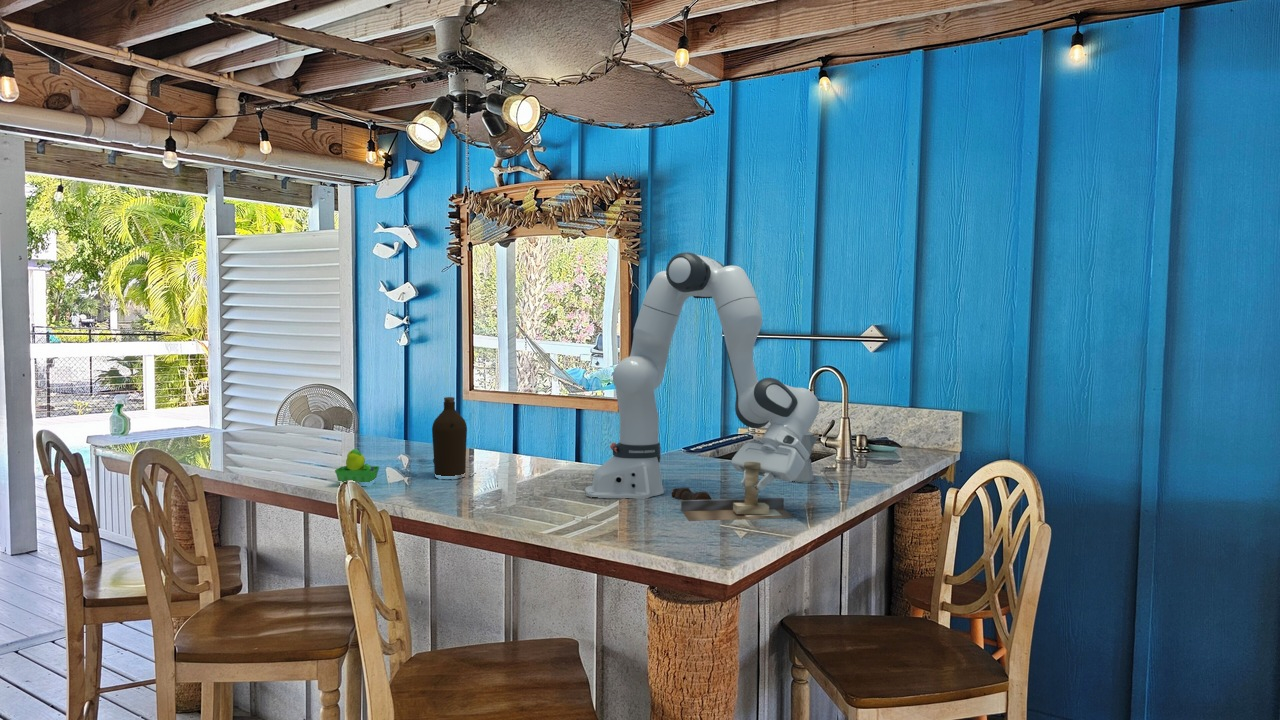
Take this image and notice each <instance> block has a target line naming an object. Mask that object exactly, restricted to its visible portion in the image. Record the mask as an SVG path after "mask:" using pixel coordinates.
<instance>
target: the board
mask: <svg viewBox="0 0 1280 720" xmlns="http://www.w3.org/2000/svg"><path fill="white" fill-rule="evenodd" d="M711 499H712V498H711ZM733 503H745V498H723V499H721V498H720V499H718V498H717V499H716V498H715V499H712V500H682V499H680V511H681V513H682V514H683V516H685V518H686V519H687V521H689V522H698V521H729V520H733V521H734V520H770V519H774V520H775V519H796V517H795V516H794V515H793V514H791V513H790V511H787V510H786V509H785V508H784V507H785V505H784V503H785V498H784V497H761V498H760V497H758V503H765V504H767V505H768V506H769V514H736V513H735V512H734V511H733Z"/></svg>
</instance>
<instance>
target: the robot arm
mask: <svg viewBox="0 0 1280 720" xmlns="http://www.w3.org/2000/svg"><path fill="white" fill-rule="evenodd" d="M691 297H693V298H694V299H713V301H714V305H715V308H716V311H717V315H718V318H719V322H720V325H721V328H722V332H723V337H724V342H725V346H726V347H725V348H726V352H727V357H728V362H729V367H730V371H731V376H732V379H733V383H734V390H735V403H734V404H735V405H734V409H735V415H736V418H737V419H738V420H739V422H740V423H742V424H743V425H744V426H746V427H747V428H751V429H760V428H761V429H762V428H763V427H765V426H766V425H767V424H769V426H768V427H767V429H766V431H765V432H764V434H763V435H762V437H761V438H760V440H756V439H752V440H751V441H749V442H746V443H744V444H743V445H742V446H741V447H740V448H739V450H738V451H736V453H735V454H734V456H733V457H732V458H731V465H732V466H733V467H734V469H735V471H737V472H741V473H743V478H742V480H741V482H740V484H741V487H743V488H745V472H746V468H744V462H758V463H761V466H760V469H759V476H761V477H762V478H761V479H760V480H758V481H756V483H755V484H754V487H755V488H756V490H758V491H760V492H761V491H763V490H764V488H765V487H766V486H767V485H769V484H771V483H772V481H773V480H780V481H785V482H788V481H789V483H793V482H792V481H794V480H795V479H796V478H797V477H798V476H799V474H800V473H801V471H802V469H803V467H804V465H805V461H807V460H808V458H810V457H811V455H809V453H808V451H807V450H806V449H805V447H804V446H803V445H802V443H801V440H802V437H803V436H804V435H805V434H806V433H807V432H810V431H809V430H810V429H811V427H812V426H813V424H814V422H815V421H816V418H817V416H818V415H819V411H820V402H819V399H818V398H817V396H816V395H815V393H813V392H812V391H810V389H807V388H805V387H795V386H790V385H787V384H785V383H783V382H781V381H780V380H779V379H777V378H774V377H765V378H762V379H760V380H758V376H757V372H756V367H755V362H754V357H753V355H754V352H753V351H754V347H755V345H756V341H757V337H758V336H759V333H760V332H761V328H762V325H763V317H762V316H763V315H762V309H761V306H760V302H759V300H758V297H757V294H756V290H755V289H754V286H753V285H752V282H751V280H750V278H749V277H748V274H747V273H746V271H745V269H743V268H742V267H740V266H738V265H726V266H725V265H724V264H723V263H721V262H720V261H717V260H715V259H713V258H711V257H708V256H705V255H700V254H695V253H693V252H680V253H677V254H676V255H674V256H672V257H671V258H670V260H669V261H668V263H667V266H666V270H662V271H659V272H657V273H656V274H655V276H654V277H653V279H652V280H651V282H650V284H649V286H648V288H647V290H646V293H645V295H644V297H643V301H642V304H641V306H640V310H639V312H638V316H637V318H636V321H635V324H634V327H633V332H632V333H633V338H632V344H631V351H630V354H629V356H627V357H625V358H623V359H621V360H620V361H619V362H618V363H617V365H616V366H615V367H614V370H613V372H612V383H613V384H614V386H615V395H616V400H617V405H618V413H619V442H618V443H616V442H612V443H610V445H609V447H610V449H611V451H612V456H611V457H610V458H609V459H607V460H606V461H605V462H604V463H602V464H601V465H599V467H597V468H596V470H595V471H594V474H593V478H592V479H593V480H592V485H589V486H586V487H585V489H584V494H585V493H586V494H587V495H588V496H587V495H586V494H585V495H586V496H587V497H589V496H590V497H589V498H592V497H598V498H597V499H625V498H636V499H635V500H638V499H643V500H645V498H646V499H649V498H652V497H656V496H660V495H663V494H664V493H665V488H664V485H663V481H662V474H661V469H660V468H661V467H660V463H661V454H662V453H661V452H662V451H661V450H662V449H661V443H660V442H659V437H660V435H659V434H660V433H659V430H660V427H659V423H660V421H659V412H658V409H657V403H656V397H655V396H656V395H655V390H656V389H658V387H660V385H661V384H662V382H663V379H664V375H665V371H666V370H665V369H666V367H667V363H668V360H669V359H668V358H669V353H670V347H671V344H672V343H671V342H672V340H673V337H674V334H675V331H676V328H677V326H678V325H677V324H678V321H679V318H680V316H681V314H682V313H681V312H682V308H683V306H684V304H685V302H686V301H687V299H689V298H691Z"/></svg>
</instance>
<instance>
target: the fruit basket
mask: <svg viewBox="0 0 1280 720" xmlns="http://www.w3.org/2000/svg"><path fill="white" fill-rule="evenodd" d="M365 461H366V457H365V456H364V455H363V454H362V453H361V452H360V451H359V450H358V448H353V449H351V450H350V451H349V452H348V453H347V456H346V461H345V466H340V467H338V468H336V469H335V470H334V473H335V474H336V477H337V482H338V481H342V482H344V481H347V480H353V481H356V482H358V481H359V482H370V481H372V480H374V479H375V478H376V479H377V476H378V472H379V471H380V466H378V465H375V466H373V465H371V464H368V463H365ZM359 482H358V483H359Z"/></svg>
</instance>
